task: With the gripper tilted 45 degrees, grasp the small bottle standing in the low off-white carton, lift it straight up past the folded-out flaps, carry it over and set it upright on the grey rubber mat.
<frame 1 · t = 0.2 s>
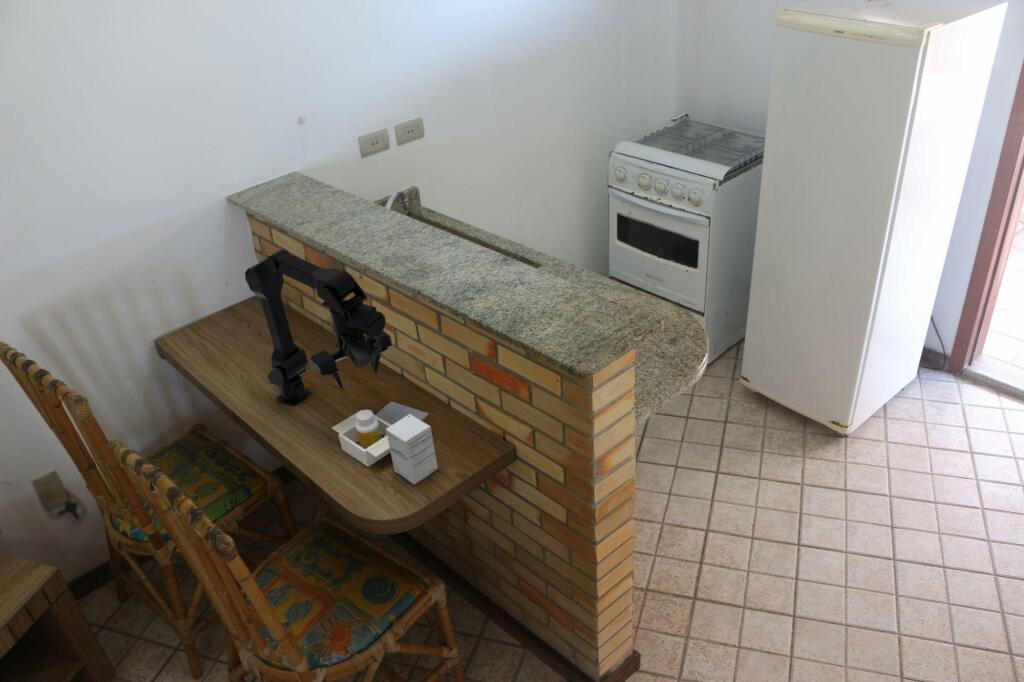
hand: (358, 380, 200), 14 cm above the breakfast bar, tool pointing down, fingers open, 9 cm apart
supplement bottle: (372, 447, 200), resting in carton
carton: (372, 447, 200), on the breakfast bar
mat: (400, 418, 209), on the breakfast bar
supplement box: (416, 471, 191), on the breakfast bar
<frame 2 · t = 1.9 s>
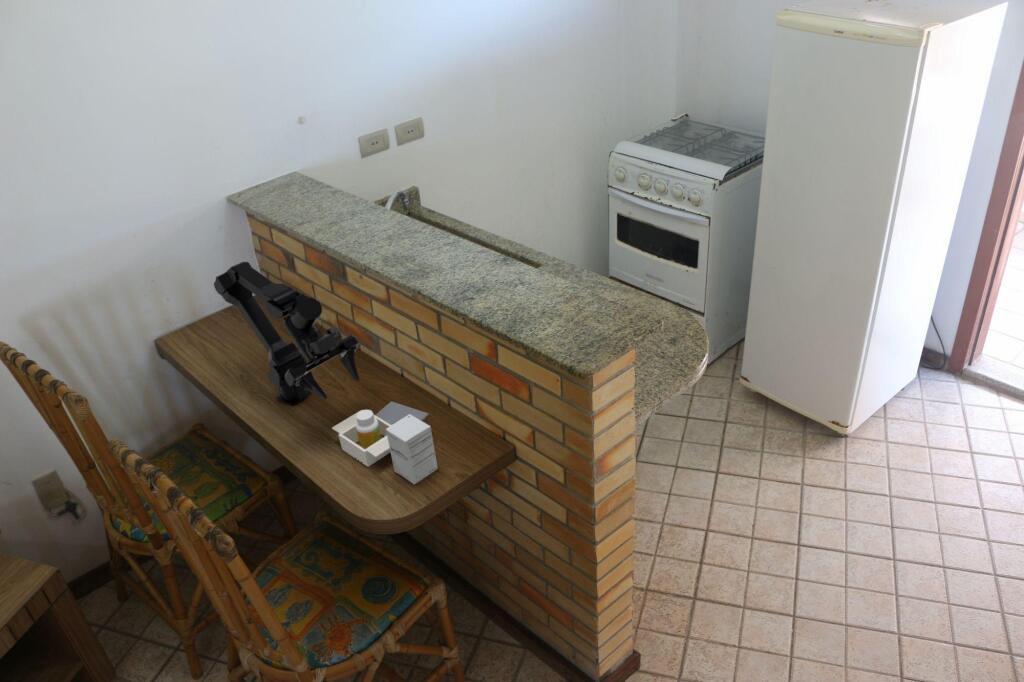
hand: (342, 389, 198), 13 cm above the breakfast bar, tool tilted 45°, fingers open, 9 cm apart
nothing on the breakfast bar moved.
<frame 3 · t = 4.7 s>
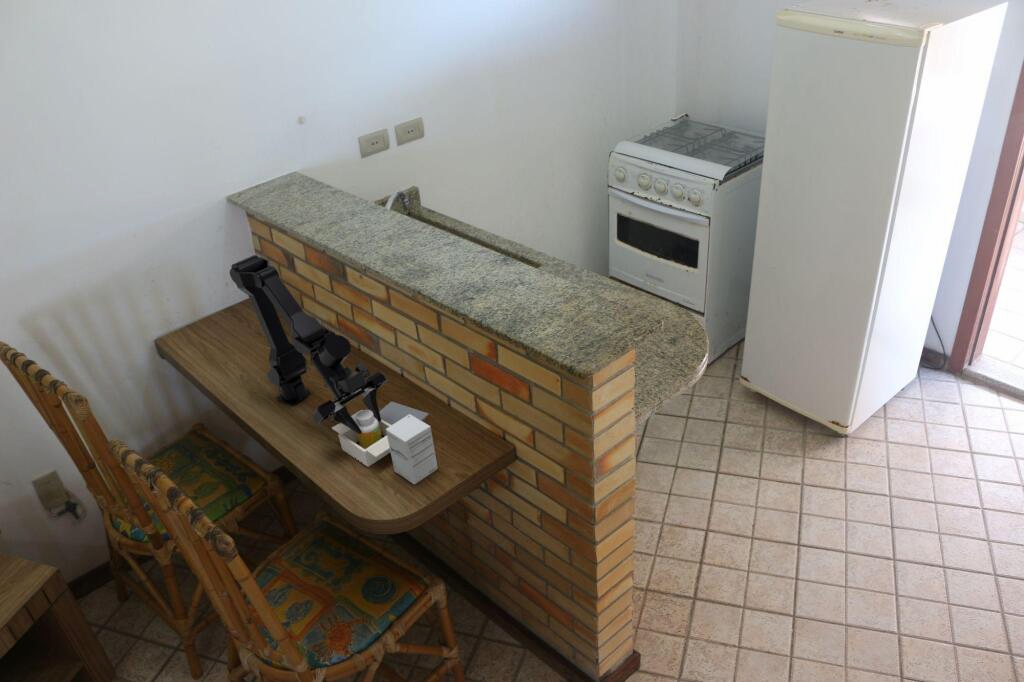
hand: (370, 427, 196), 7 cm above the breakfast bar, tool tilted 45°, fingers closed on supplement bottle, 5 cm apart
supplement bottle: (372, 447, 200), resting in carton, touching gripper
everything else where it was.
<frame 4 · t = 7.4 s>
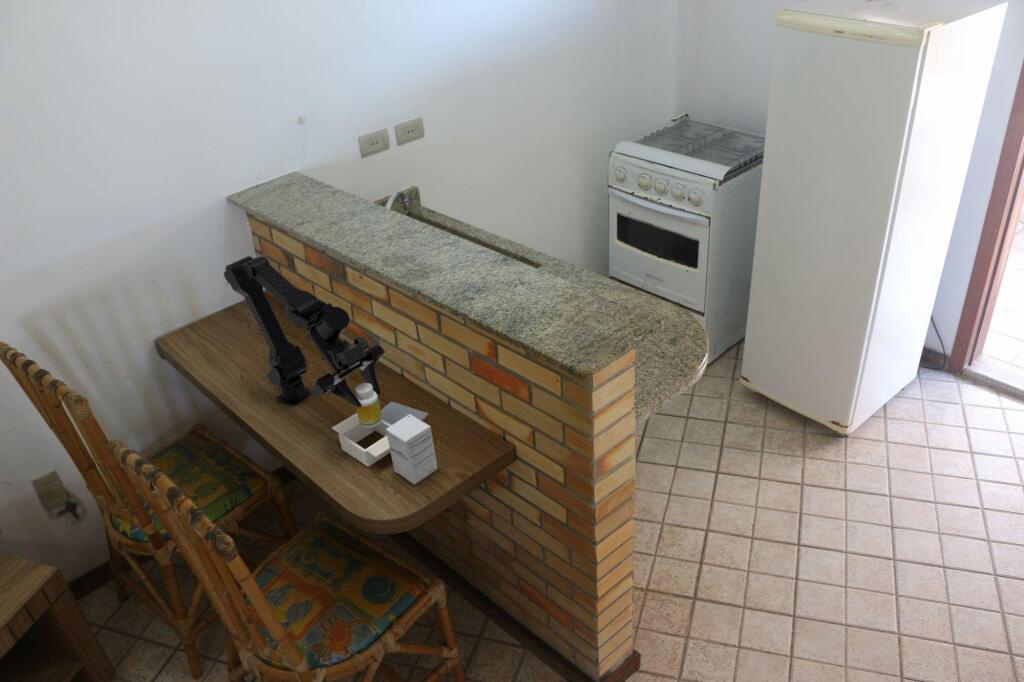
hand: (370, 400, 193), 13 cm above the breakfast bar, tool tilted 45°, fingers closed on supplement bottle, 5 cm apart
supplement bottle: (371, 421, 198), point 6 cm above the breakfast bar, touching gripper
everything else where it was.
when the fingers open (8 cm above the breakfast bar, at t = 10.1 s): supplement bottle drops 1 cm, resting on mat.
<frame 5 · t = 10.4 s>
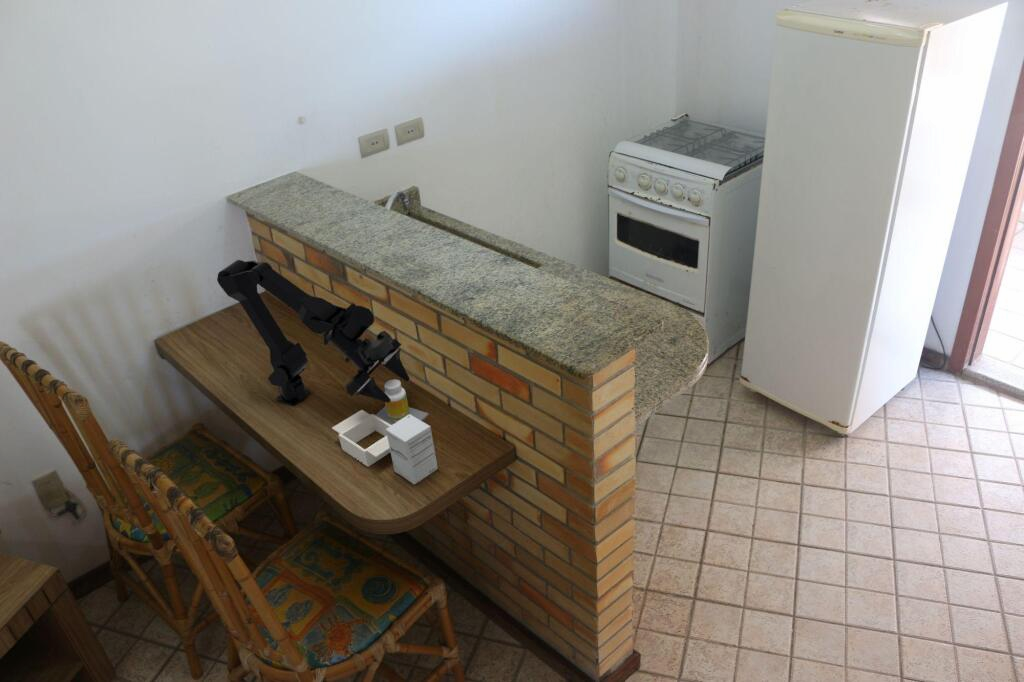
hand: (399, 390, 204), 9 cm above the breakfast bar, tool tilted 45°, fingers open, 9 cm apart
supplement bottle: (399, 416, 209), resting on mat
everything else where it was.
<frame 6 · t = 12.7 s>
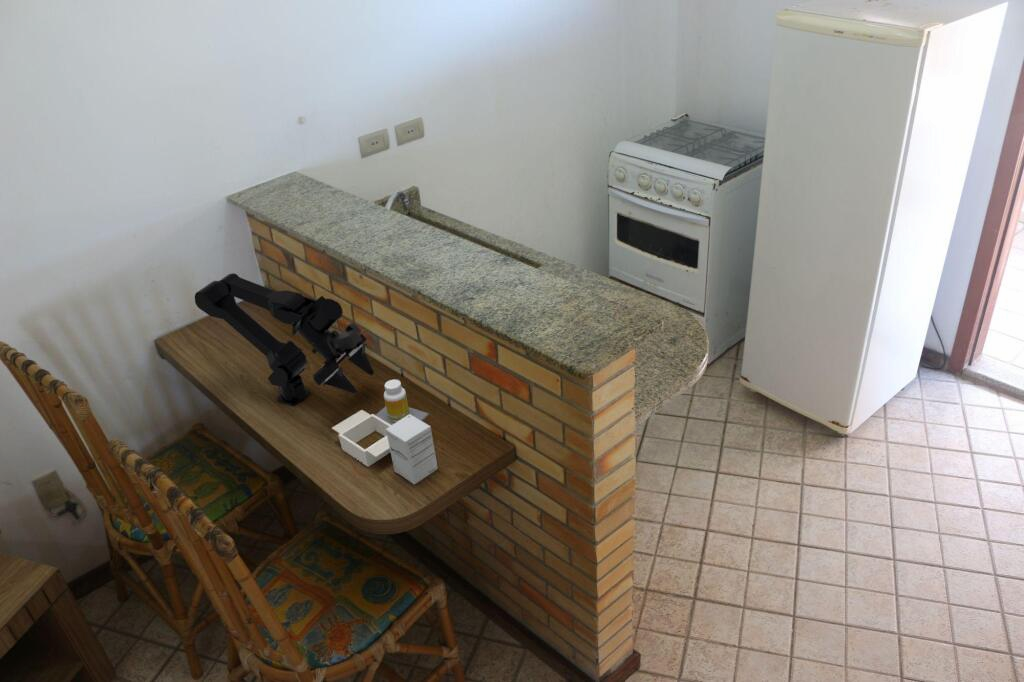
hand: (364, 383, 207), 9 cm above the breakfast bar, tool tilted 40°, fingers open, 9 cm apart
nothing on the breakfast bar moved.
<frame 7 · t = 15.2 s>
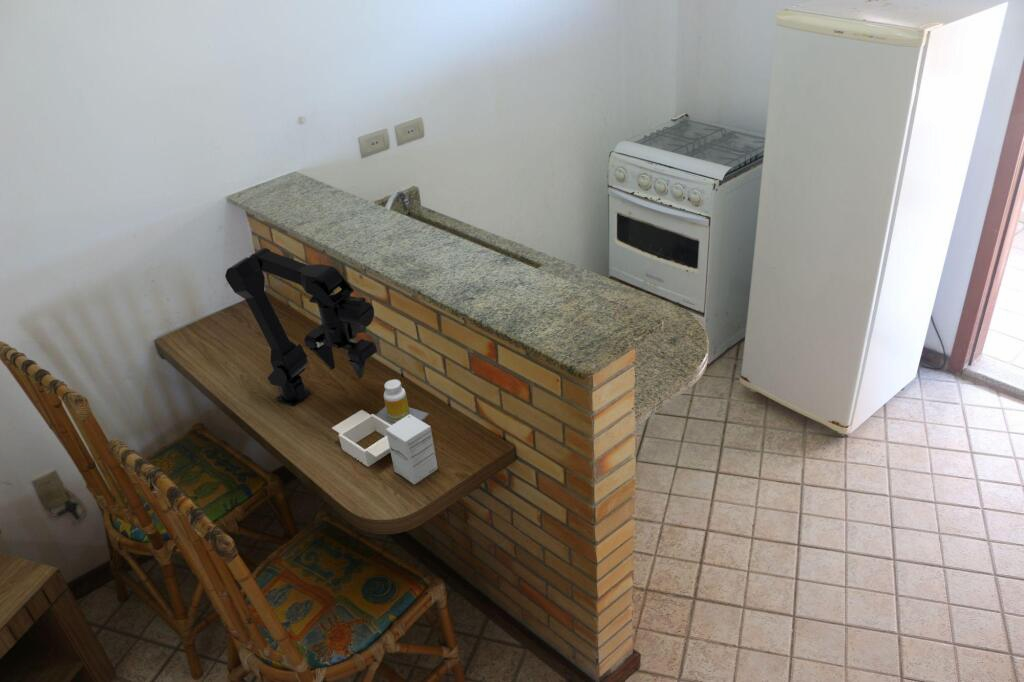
hand: (346, 373, 206), 12 cm above the breakfast bar, tool pointing down, fingers open, 9 cm apart
nothing on the breakfast bar moved.
at the end: supplement bottle 0.2 cm off-centre on the mat, point 0.4 cm above the mat's base; supplement bottle tilted 0°; the gripper is holding nothing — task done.
